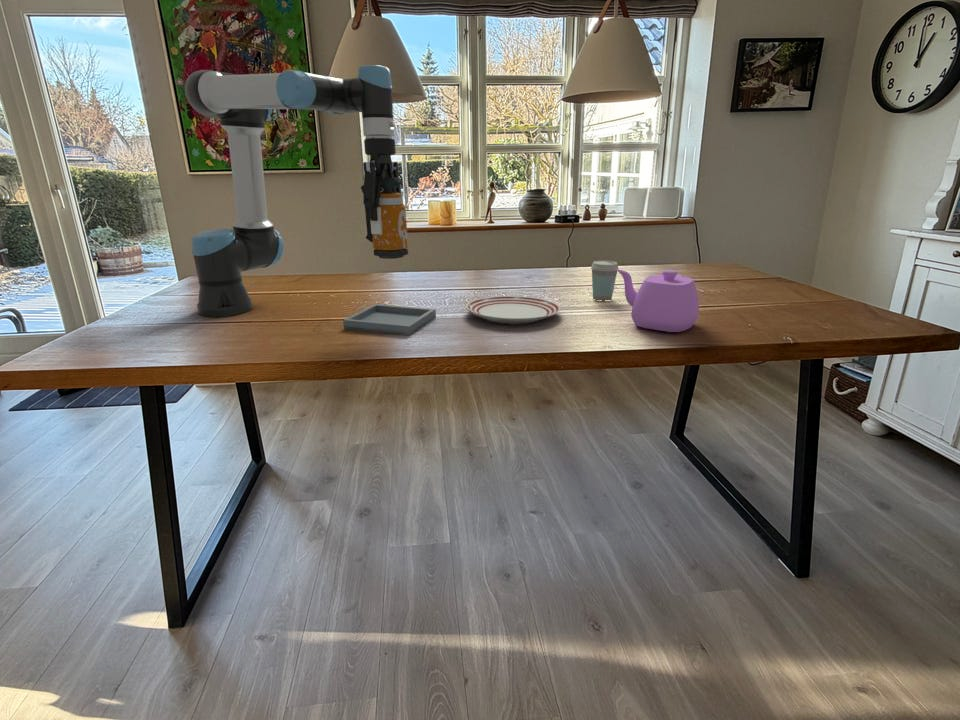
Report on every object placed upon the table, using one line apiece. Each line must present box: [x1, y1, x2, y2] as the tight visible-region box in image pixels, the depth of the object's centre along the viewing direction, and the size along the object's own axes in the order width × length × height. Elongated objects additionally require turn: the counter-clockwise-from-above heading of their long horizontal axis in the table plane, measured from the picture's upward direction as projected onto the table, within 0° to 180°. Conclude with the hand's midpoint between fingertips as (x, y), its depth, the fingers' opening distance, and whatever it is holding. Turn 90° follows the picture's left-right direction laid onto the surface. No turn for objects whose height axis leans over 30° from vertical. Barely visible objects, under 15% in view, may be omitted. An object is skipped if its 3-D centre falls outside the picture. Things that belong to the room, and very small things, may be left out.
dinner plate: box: [465, 295, 561, 325], centre depth 152 cm, size 28×27×3 cm
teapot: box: [616, 268, 700, 333], centre depth 142 cm, size 23×21×15 cm
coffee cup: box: [590, 260, 620, 301], centre depth 166 cm, size 9×9×12 cm
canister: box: [360, 178, 409, 260], centre depth 134 cm, size 9×11×20 cm
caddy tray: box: [342, 303, 437, 336], centre depth 144 cm, size 19×17×2 cm
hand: (385, 231), depth 136 cm, fingers closed on canister, 9 cm apart
